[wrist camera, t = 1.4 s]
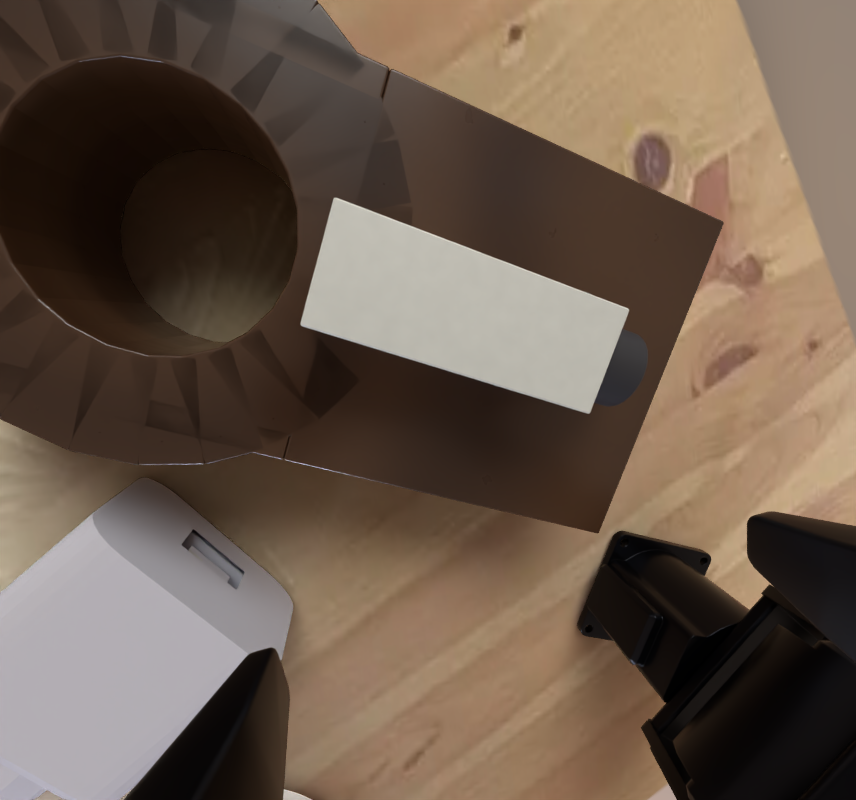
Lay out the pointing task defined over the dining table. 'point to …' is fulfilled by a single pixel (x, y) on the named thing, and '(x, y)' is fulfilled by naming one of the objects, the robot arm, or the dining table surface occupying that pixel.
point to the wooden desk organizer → (303, 255)
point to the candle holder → (293, 796)
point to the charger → (123, 643)
